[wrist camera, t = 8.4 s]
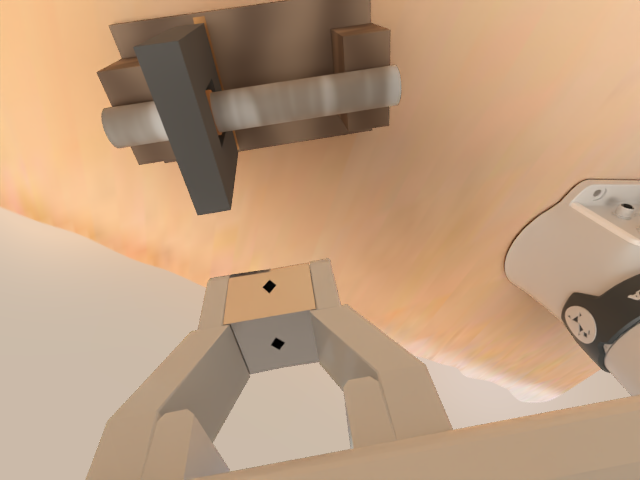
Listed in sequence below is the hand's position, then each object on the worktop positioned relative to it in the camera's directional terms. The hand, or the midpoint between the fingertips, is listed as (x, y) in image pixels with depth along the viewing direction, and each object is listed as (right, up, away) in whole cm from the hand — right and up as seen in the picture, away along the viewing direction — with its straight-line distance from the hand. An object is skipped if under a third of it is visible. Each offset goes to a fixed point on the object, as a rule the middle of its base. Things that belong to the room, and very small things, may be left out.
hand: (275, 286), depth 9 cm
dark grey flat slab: (-7, +12, +16) cm, 21 cm away
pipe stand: (-4, +14, +19) cm, 24 cm away
